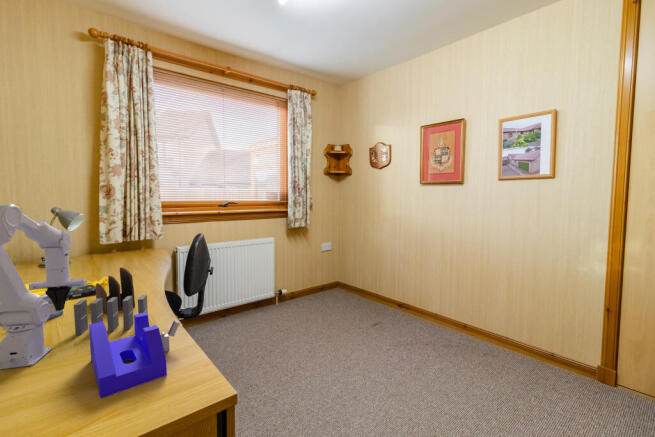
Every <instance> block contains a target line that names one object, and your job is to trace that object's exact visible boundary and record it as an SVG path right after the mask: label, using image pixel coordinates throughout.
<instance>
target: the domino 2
mask: <svg viewBox="0 0 655 437" xmlns="http://www.w3.org/2000/svg"><path fill="white" fill-rule="evenodd" d="M89 304H90V306H89V307H90V320H91V321H90V324H94V323H98V322H104V311H103V306H102V298H99V299H96V298H95V299H94V300H93V301H91V302H90V303H89Z"/></svg>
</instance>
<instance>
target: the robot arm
mask: <svg viewBox="0 0 655 437" xmlns="http://www.w3.org/2000/svg"><path fill="white" fill-rule="evenodd" d="M17 230H18V231H22V232H23V233H24V236H25V237H26V238H27V239H29V240H31V241H33V242H36V243H37V244H38V246H39V248H40V249H43V250H44V251H43V252H44V265H45V266H44V267H45V280H44V281H38V282H36V281H35V282H31V283H29V284H28V288H27V286H26V285H25V283H24V281H23V279H22V278H21V275H20V274H19V272H18V270H17V269H16V267H15V265H14V263H13V261H12V260H11V258H10V256H9V254H8V253H7V251H6V249H5V247H4V244H6V243H9V242H10V241H11V240H12V239H13V237H14V235H15V233H16V232H17ZM72 242H73V237H72V235H71V233H70V232H68V231H67V230H59V229H58V228H56V226H52V225H50V224H48V223H47V221H46V220H36V221H35V220H33V219H31V217H28V216H27V215H26V214H24V213H23V209H22V208H21V207H19V206H18V205H16V204H14V203H4V204H3V203H2V204H0V327H1V328H2V331H6V334H5V336H4V338H3V339H2V340H1V341H0V370H5V369H12V368H20V367H21V368H22V367H28V366H33V365H35V364H36V363H38V362H39V361H40V360H42V358H43V357H44V356H46V355H47V354H48V353H49V352H51V351H52V349H53V347H52V346H49V347H45V334H44V324H45V323H46V322H47V321H49V320H48V318H49V317H50V314H51V307H50V305H49V303H48V302H47V301H45V300H43V298H42V296H40V295H39V294H37V293H33V292H31V291H34V290H42V289H46V290H45V292H44V294H46V295H47V296H48V297H49V298H50V299H51V301H52V302H53V304H54V306H55V309H56V311H61V310H63V311H64V310H65V306H66V301H67V300H68V298H67V296H68V294H69V292H70V290H71V288H72V287H76V286H81V287H83V286H86V285H87V284H88V283H87V279H86V278H84V279H81V278H80V279H78V278H71V277H70V276H71V275H70V261H69V254H70V253H71V246H72Z"/></svg>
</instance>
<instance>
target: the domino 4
mask: <svg viewBox="0 0 655 437" xmlns="http://www.w3.org/2000/svg"><path fill="white" fill-rule="evenodd" d="M122 303H123V310H122V319H123V320H122V321H123V322H122V323H123V324H122V325H123V331H128V330H130V329H131V328H132V327H133V326H134V308H133V298H132V296H127V297H126V298H125V299H124V300H123V301H122Z"/></svg>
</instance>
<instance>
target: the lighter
mask: <svg viewBox="0 0 655 437" xmlns="http://www.w3.org/2000/svg"><path fill="white" fill-rule="evenodd" d="M179 326H180V320H173V322H172V324H171V326H170V328H169V329H168V333H166V334H165V332H160V335H161V340H162V344H163V348H164V353H165V352H168V351H170V337H173V338H174V337H175V335H176V332H177V331H178V328H179Z"/></svg>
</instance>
